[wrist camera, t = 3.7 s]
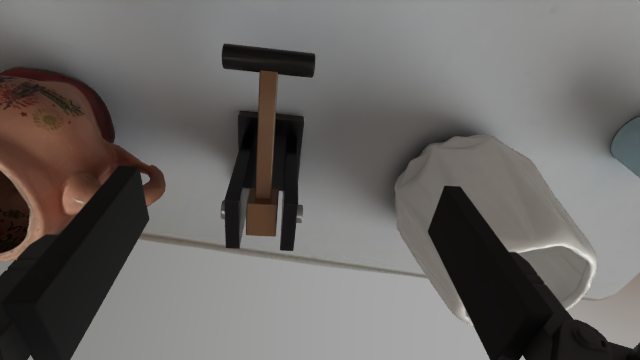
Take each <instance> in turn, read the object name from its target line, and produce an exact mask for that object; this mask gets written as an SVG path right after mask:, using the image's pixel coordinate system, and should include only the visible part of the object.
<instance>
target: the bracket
mask: <svg viewBox="0 0 640 360" xmlns="http://www.w3.org/2000/svg"><path fill="white" fill-rule="evenodd" d="M303 127H304V117H303V116H293V115H282V114H276V119H275V136H274V154H273V171H272V188H271V189H278V190H279V191H283V199H282V220H281V240H280V250H284V251H293V248H294V239H295V230H296V223H301V222H302V216H303V206H302V205H298V175H299V166H300V156H301V146H302V137H303ZM257 136H258V112H248V111H240V112H239V115H238V148H239V152H238V156H237V159H236V162H235V166H234V169H233V173H232V176H231V180H230V183H229V186H228V190H227V193H226V197H225V200H223V201H222V205H221V218H222V219H225V235H226V248H238V249H239V248H240V243H241V238H242V233H243V228H244V222H245V217H246V210H247V200H248V195H249V191H250V188H256V166H257Z"/></svg>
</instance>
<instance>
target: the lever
mask: <svg viewBox="0 0 640 360" xmlns="http://www.w3.org/2000/svg"><path fill="white" fill-rule="evenodd" d="M222 64H223V68H225V69H233V70H242V71H252V72H260V77H259V107H258V136H257V166H256V188H250V191H249V195H248V200H247V210H246V235H255V236H276V223H277V209H278V194H279V190H278V189H271V188H272V171H273V154H274V136H275V119H276V102H277V84H278V74H281V75H290V76H300V77H310V78H312V77H313V75H314V69H315V54H314V53H305V52H296V51H287V50H278V49H269V48H260V47H252V46H243V45H234V44H224V45H223V48H222Z"/></svg>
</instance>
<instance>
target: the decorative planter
mask: <svg viewBox="0 0 640 360" xmlns="http://www.w3.org/2000/svg"><path fill="white" fill-rule="evenodd" d="M114 139H115V131H114V127H113V124H112V120H111V117H110V114H109V111H108V109H107V107H106V105H105V104H104V102H103V100H102V99H101V98H100V96H99V95H98V94H97V93H96V92H95V91H94V90H93V89H91V88H90V87H89V86H87V85H86V84H84V83H82V82H80V81H78V80H76V79H74V78H71V77H68V76H66V75H63V74H59V73H56V72H52V71H47V70H41V69H28V68H23V67H15V68H11V69H8V70H5V71H3V72H1V73H0V261H8V260H14V259H18V258H17V257H18V256H19V255H20V254H21V253H22V252H23V251H24V250H25V249H26V248H27V247H28V246H29V245H30V244H31V243H33V242H35V241H36V240H38V239H39V238H41V237H43V236H44V235H46V234H53V235H60V233H61V232H62V231H63V230H64V229H65V228H66V226H67V225H68V224H69V223H70V222H71V221H72V219H73V218H74V217H75V216H76V215H77V214H78V212H79V211H80V210H81V209H82V208H83V207H84V205H85V204H86V203H87V202H88V201H89V200H90V198H91V197H92V196H93V195H94V194H95V193H96V192H97V190H98V189H99V188H100V187H101V186H102V185H103V183H104V182H105V181H106V180H107V179H108V178H109V176H110V175H111V174H112V173H113V172H114V171H115V169H116V168H117V167H118V166H119V165H121V166H137V167H139V170H140V172H141V173H145V174H147V175H148V176H149V177H150V181H149V182H148V183H146V184H144V185H143V190H144V195H145V200H146V205H147V206H149V205H151V204H152V203H154V202H155V201H156V200H158V199H159V198H160V197H161V196H162V195H163V193H164V192H165V186H166V185H165V180H164V176H163V173H162V172H161V171H160V170H159V169H158V168H157V167H155V166H153V165H151V166H148V165H147V164H145V163H143V162H141V161H140V160H139V159H137V158H136V157H134V156H133V155H131V154H130V153H129V152H127V151H126V150H124V149H123V148H121V147H120V146H118V145H115V144H113V142H114Z"/></svg>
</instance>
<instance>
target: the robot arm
mask: <svg viewBox="0 0 640 360" xmlns="http://www.w3.org/2000/svg"><path fill="white" fill-rule="evenodd" d="M148 221H149V215H148V210H147V205H146V200H145V195H144V190H143V185H142V180H141V175H140V170H139V167H137V166H121V165H119V166H118V167H117V168H116V169H115V171H114V172H113V173H112V174H111V175H110V176H109V178H108V179H107V180H106V181H105V182H104V183H103V185H102V186H101V187H100V188H99V189H98V190H97V192H96V193H95V194H94V195H93V196H92V197H91V198H90V200H89V201H88V202H87V203H86V204H85V205H84V207H83V208H82V209H81V210H80V211H79V212H78V214H77V215H76V216H75V217H74V218H73V219H72V221H71V222H70V223H69V224H68V225H67V226H66V228H65V229H64V230H63V231H62V232H61V233H60V235H53V234H46V235H44V236H43V237H41V238H39V239H38V240H36V241H35V242H33V243H31V244H30V245H29V246H28V247H27V248H26V249H25V250H24V251H23V252H22V253H21V254H20V255H19V256H18V257H17V258H18V259H17V260H15V261H14V262H13V263H12V264H11V265H10V266H9V267H8V270H7V271H5V272H3V274H1V276H0V360H27V359H28V358H29V356H30V355H31V356H32V357H33V359H34V360H70V359H71V357H72V356H73V354H74V352H75V350H76V348H77V347H78V345H79V343H80V341H81V340H82V338H83V336H84V334H85V332H86V331H87V329H88V327H89V325H90V324H91V322H92V320H93V318H94V316H95V315H96V313H97V311H98V309H99V307H100V306H101V304H102V302H103V300H104V299H105V297H106V295H107V293H108V292H109V290H110V288H111V286H112V285H113V283H114V281H115V279H116V277H117V276H118V274H119V272H120V270H121V268H122V267H123V265H124V263H125V261H126V260H127V258H128V256H129V254H130V253H131V251H132V249H133V247H134V245H135V244H136V242H137V240H138V238H139V237H140V235H141V233H142V231H143V229H144V228H145V226H146V224H147V222H148ZM428 234H429V236H430V238H431V240H432V242H433V244H434V246H435V248H436V250H437V252H438V254H439V256H440V258H441V260H442V262H443V265H444V267H445V269H446V271H447V273H448V275H449V277H450V279H451V281H452V283H453V285H454V287H455V289H456V291H457V293H458V295H459V297H460V299H461V301H462V303H463V305H464V307H465V309H466V311H467V313H468V315H469V317H470V319H471V321H472V323H473V325H474V327H475V329H476V332H477V333H478V336H479V338H480V339H481V342H482V343H483V346H484V348H485V350H486V352H487V354H488V356H489V358H490V360H519V359H520V358H521V356H522V355H523V356H524V358H525V359H526V360H640V343H639V344H638V345H637V346H636V347H635V348H634V349H631V348H628V347H624V346H621V345H617V344H614V343H611V342H608V341H607V340H606V338H605V337H604V336H603V335H602V334H601V333H599V332H598V331H597V330H596V329H595V328H593V327H591V326H590V325H588V324H587V323H584V322H581V321H579V320H574V319H573V318H572V317H571V316H570V315H569V313H568V312H567V311H566V309H565V308H564V307H563V305H562V304H561V303H560V302H559V300H558V299H557V298H556V296H555V295H554V294H553V293H552V291H551V290H550V289H549V288H548V286H547V285H545V284H544V283H545V282H544V281H543V280H542V279H541V277H540V276H539V275H537V272H536V271H535V270H534V268H533V267H532V266H531V264H530V263H529V262H528V261H527V260H525V259H524V258H523V257H522V256H520V255H519V254H518V253H517V252H508V250H507V249H506V247H505V246H504V245H503V243H502V242H501V241H500V239H499V238H498V237H497V235H496V234H495V233H494V231H493V230H492V228H491V227H490V226H489V224H488V223H487V222H486V220H485V219H484V218H483V216H482V215H481V214H480V212H479V211H478V210H477V208H476V207H475V205H474V204H473V203H472V201H471V200H470V199H469V197H468V196H467V195H466V193H465V192H464V191H463V189H462V188H461V187H460V186H444V188H443V191H442V194H441V196H440V199H439V202H438V204H437V207H436V210H435V213H434V215H433V218H432V221H431V224H430V226H429V229H428Z"/></svg>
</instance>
